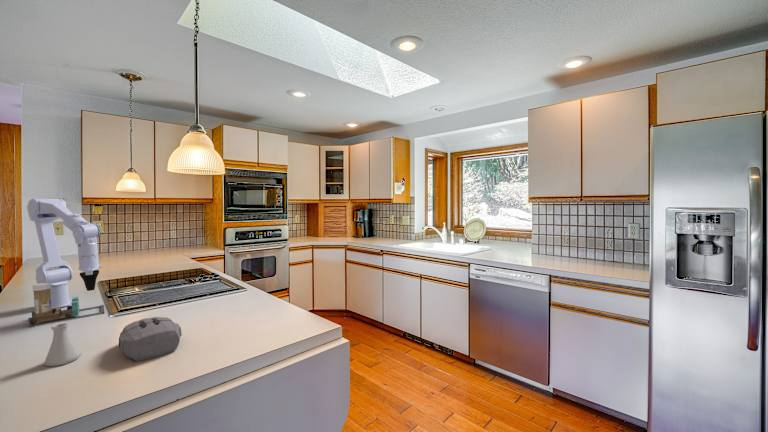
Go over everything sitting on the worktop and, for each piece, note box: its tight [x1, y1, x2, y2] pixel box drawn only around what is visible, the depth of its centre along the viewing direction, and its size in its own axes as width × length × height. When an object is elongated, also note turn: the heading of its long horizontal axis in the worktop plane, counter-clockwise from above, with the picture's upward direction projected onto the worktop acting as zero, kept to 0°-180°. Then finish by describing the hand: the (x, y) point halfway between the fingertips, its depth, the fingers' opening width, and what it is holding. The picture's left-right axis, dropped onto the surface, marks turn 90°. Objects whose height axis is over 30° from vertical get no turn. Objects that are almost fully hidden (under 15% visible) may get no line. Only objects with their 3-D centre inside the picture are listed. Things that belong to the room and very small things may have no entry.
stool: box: [27, 296, 80, 325], centre depth 125 cm, size 11×13×5 cm
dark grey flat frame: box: [28, 304, 105, 328], centre depth 128 cm, size 11×20×1 cm, turn 130°
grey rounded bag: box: [118, 316, 183, 362], centre depth 101 cm, size 15×8×20 cm
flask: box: [43, 322, 82, 367], centre depth 93 cm, size 7×7×10 cm
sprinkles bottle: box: [32, 283, 52, 317], centre depth 123 cm, size 5×5×14 cm
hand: (90, 290), depth 131 cm, fingers closed
